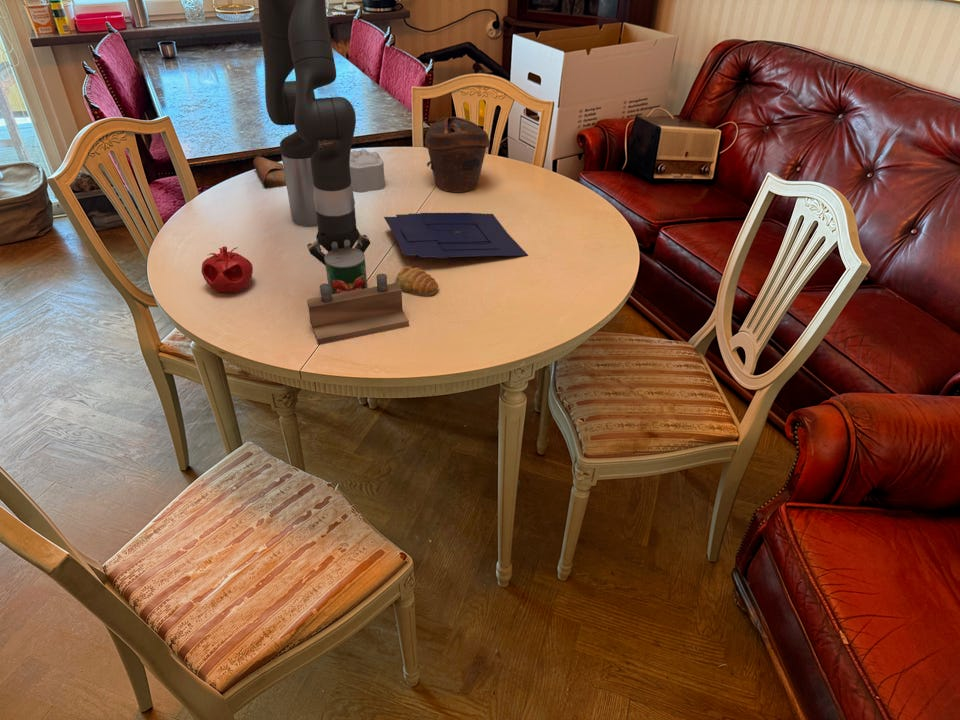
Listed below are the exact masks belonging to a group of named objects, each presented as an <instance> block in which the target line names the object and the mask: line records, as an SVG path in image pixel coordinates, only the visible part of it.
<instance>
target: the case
mask: <svg viewBox="0 0 960 720" xmlns="http://www.w3.org/2000/svg"><path fill="white" fill-rule="evenodd" d="M490 144H491V143H490V138H489V134H488V133H487V131H485V130H484V129H482V127H481V126H479V125H478V124H476V123H474V122H473V121H470V120H468V119H465V118H463V117H459V116H446V117H442V118H440V119H437V120H436V121H435V122H433V123H431V125H430V126H429V128H428V129H427V132H426V134H425V138H424V146H425V149H427V150H428V151H427V152H428V155H429V161H427V163H426V166H427V167H428V168H429V166H430V170H431V171H432V174H433V180H434V184H435V185H436V186H437V187H438V189H440V190H443V191H446V192H451V193H461V192H468V191H472V190H474V189H475V188H476V187H478V185H479V180H480V176H481V172H482V168H483V165H484V159H485V155H486V151H487V148H488V149H490V146H491V145H490Z"/></svg>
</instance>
